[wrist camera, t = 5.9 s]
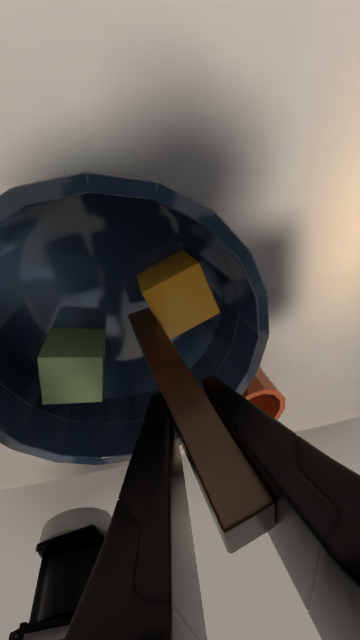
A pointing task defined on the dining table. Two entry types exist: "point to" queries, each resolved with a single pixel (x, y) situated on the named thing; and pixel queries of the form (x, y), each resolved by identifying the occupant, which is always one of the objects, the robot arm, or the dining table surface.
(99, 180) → the bowl
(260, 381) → the holder
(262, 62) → the dining table surface
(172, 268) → the mustard block
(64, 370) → the sage block
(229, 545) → the stick
